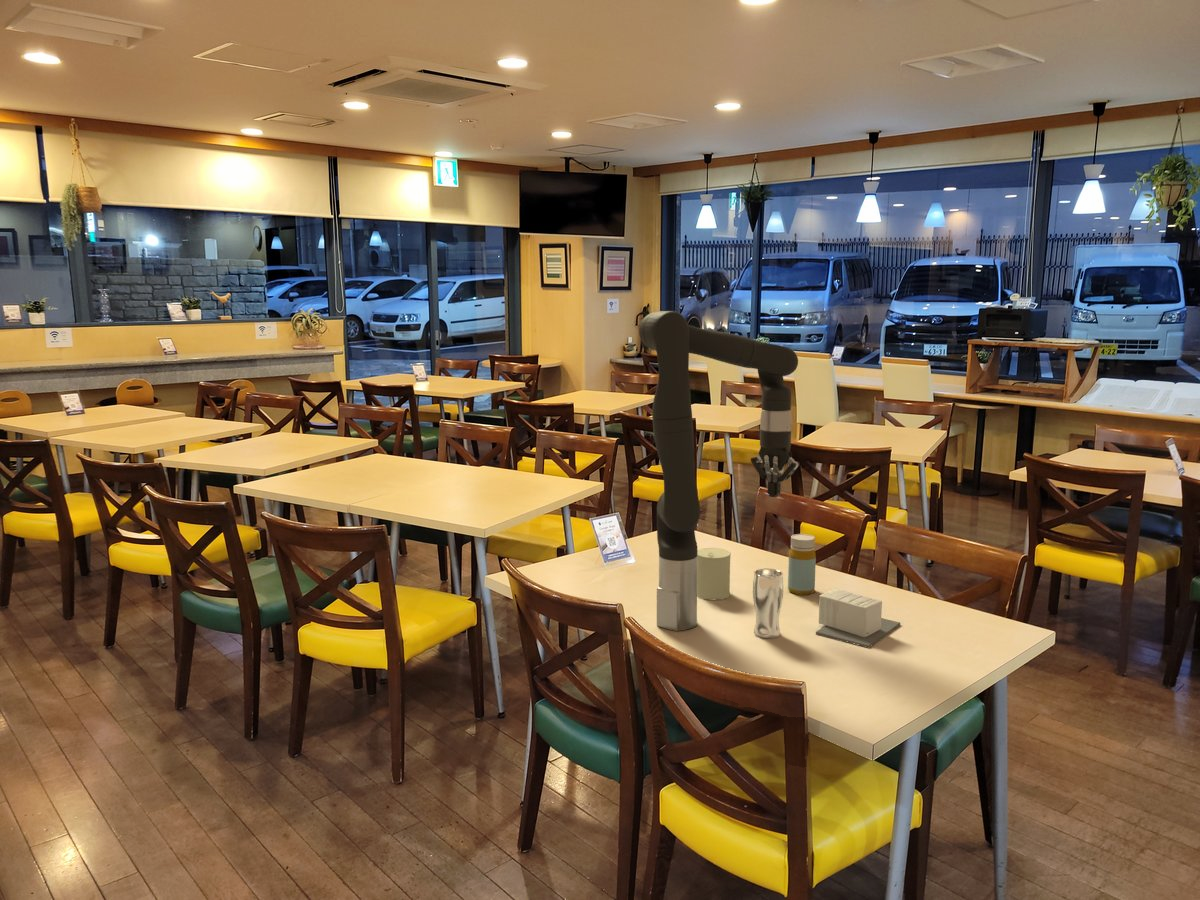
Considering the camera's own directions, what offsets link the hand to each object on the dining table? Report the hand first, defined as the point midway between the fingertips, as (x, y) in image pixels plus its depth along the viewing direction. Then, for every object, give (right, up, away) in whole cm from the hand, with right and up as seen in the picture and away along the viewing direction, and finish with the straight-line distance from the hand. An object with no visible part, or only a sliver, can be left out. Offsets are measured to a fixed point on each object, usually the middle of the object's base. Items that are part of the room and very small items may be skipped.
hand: (773, 496), depth 218 cm
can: (-13, -27, +15) cm, 34 cm away
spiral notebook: (+18, -31, -10) cm, 37 cm away
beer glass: (-4, -32, -12) cm, 34 cm away
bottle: (+11, -26, +17) cm, 33 cm away
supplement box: (+12, -26, -6) cm, 29 cm away
